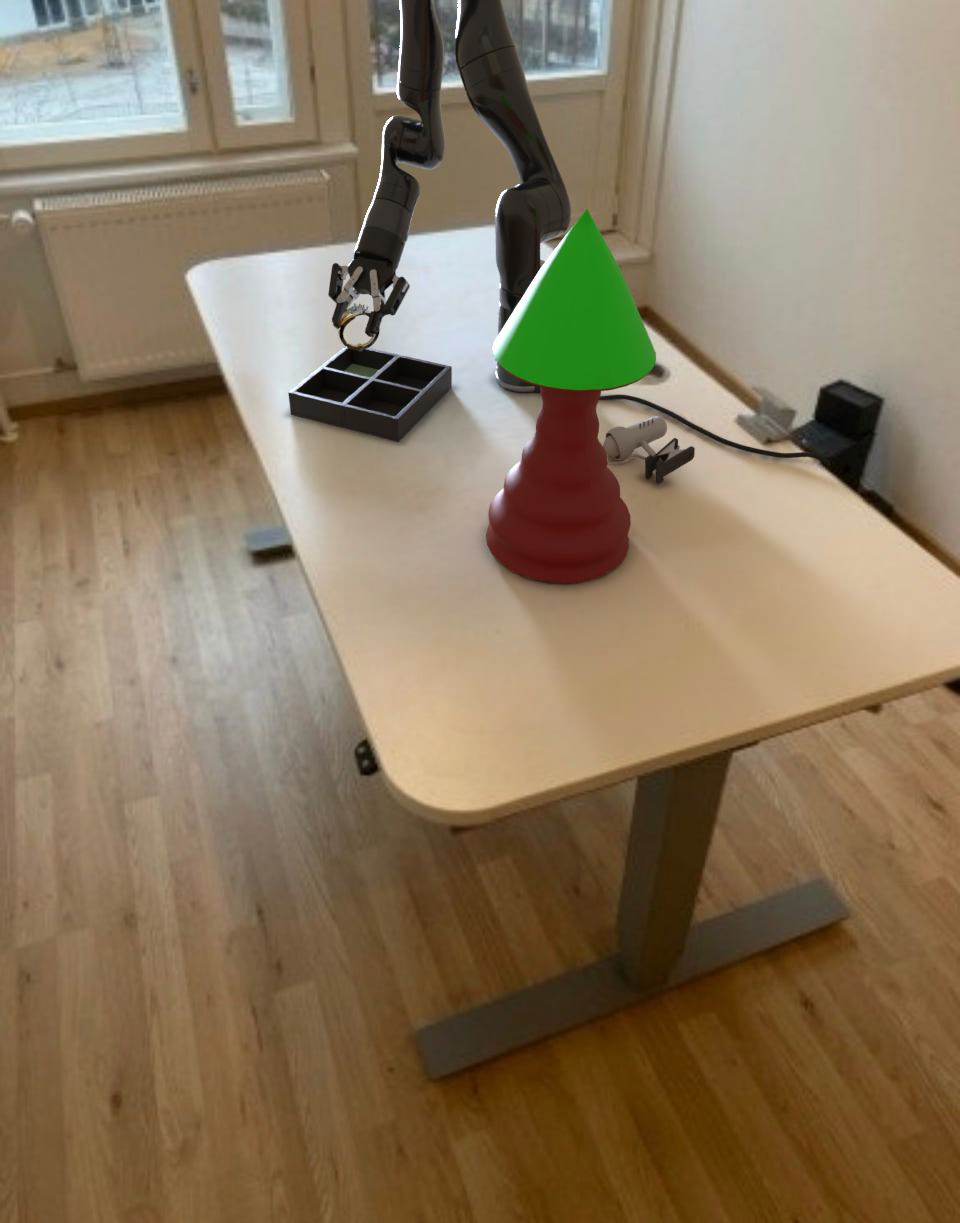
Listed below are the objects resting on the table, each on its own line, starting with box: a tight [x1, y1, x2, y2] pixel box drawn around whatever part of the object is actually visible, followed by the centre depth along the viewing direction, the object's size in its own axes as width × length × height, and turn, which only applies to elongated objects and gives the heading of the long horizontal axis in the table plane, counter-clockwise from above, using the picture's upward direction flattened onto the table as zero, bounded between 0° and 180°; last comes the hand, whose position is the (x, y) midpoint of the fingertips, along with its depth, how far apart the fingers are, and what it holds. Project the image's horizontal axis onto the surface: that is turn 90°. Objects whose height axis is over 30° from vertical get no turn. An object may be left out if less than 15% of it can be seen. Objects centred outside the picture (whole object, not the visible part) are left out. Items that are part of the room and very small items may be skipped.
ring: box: [337, 303, 381, 352], centre depth 162 cm, size 7×3×8 cm, turn 106°
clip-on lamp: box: [602, 415, 696, 485], centre depth 147 cm, size 12×6×18 cm
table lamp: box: [485, 208, 657, 584], centre depth 120 cm, size 20×20×45 cm
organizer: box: [287, 343, 453, 443], centre depth 162 cm, size 20×20×4 cm
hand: (353, 331), depth 160 cm, fingers closed on ring, 5 cm apart
